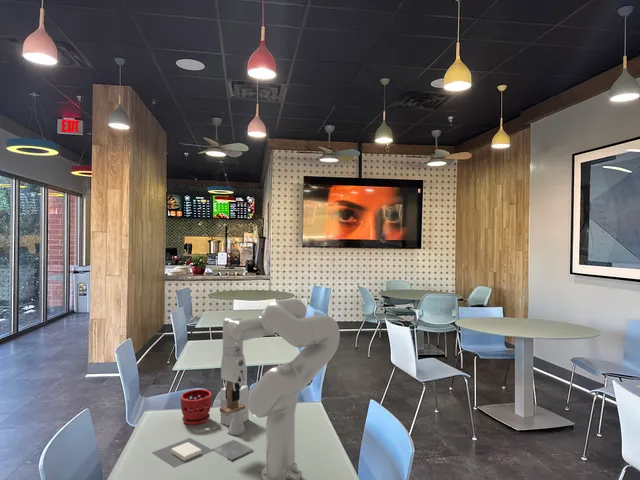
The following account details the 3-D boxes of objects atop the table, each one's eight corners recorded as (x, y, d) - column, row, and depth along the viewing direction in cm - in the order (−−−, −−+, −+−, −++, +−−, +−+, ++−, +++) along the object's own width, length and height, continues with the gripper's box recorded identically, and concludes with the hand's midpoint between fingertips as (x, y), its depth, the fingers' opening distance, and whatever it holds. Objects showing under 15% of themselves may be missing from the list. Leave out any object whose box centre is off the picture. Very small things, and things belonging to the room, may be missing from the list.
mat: (213, 451, 155) (213, 450, 155) (174, 468, 143) (174, 467, 143) (190, 438, 166) (190, 437, 166) (151, 453, 153) (151, 452, 153)
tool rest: (253, 451, 155) (253, 449, 155) (231, 461, 148) (231, 459, 148) (233, 441, 163) (233, 439, 163) (211, 450, 156) (211, 449, 156)
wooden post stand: (245, 408, 157) (245, 368, 158) (227, 414, 151) (228, 373, 152) (236, 405, 161) (237, 365, 161) (219, 411, 155) (220, 370, 155)
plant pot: (175, 421, 183) (175, 393, 183) (203, 413, 192) (203, 387, 192) (188, 430, 173) (188, 401, 173) (216, 421, 182) (216, 394, 182)
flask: (241, 436, 167) (241, 411, 168) (224, 435, 169) (224, 410, 169) (247, 429, 174) (247, 405, 175) (231, 427, 176) (232, 403, 176)
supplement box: (233, 416, 188) (233, 382, 189) (249, 419, 184) (249, 385, 185) (219, 423, 180) (219, 388, 180) (236, 427, 176) (236, 392, 176)
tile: (188, 446, 158) (201, 454, 152) (171, 453, 153) (184, 461, 147) (188, 442, 158) (201, 449, 152) (171, 448, 153) (184, 456, 147)
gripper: (254, 352, 154) (254, 401, 154) (227, 345, 165) (227, 391, 164) (238, 356, 148) (238, 407, 148) (211, 348, 159) (211, 397, 159)
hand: (232, 398), depth 156 cm, fingers closed on wooden post stand, 3 cm apart
